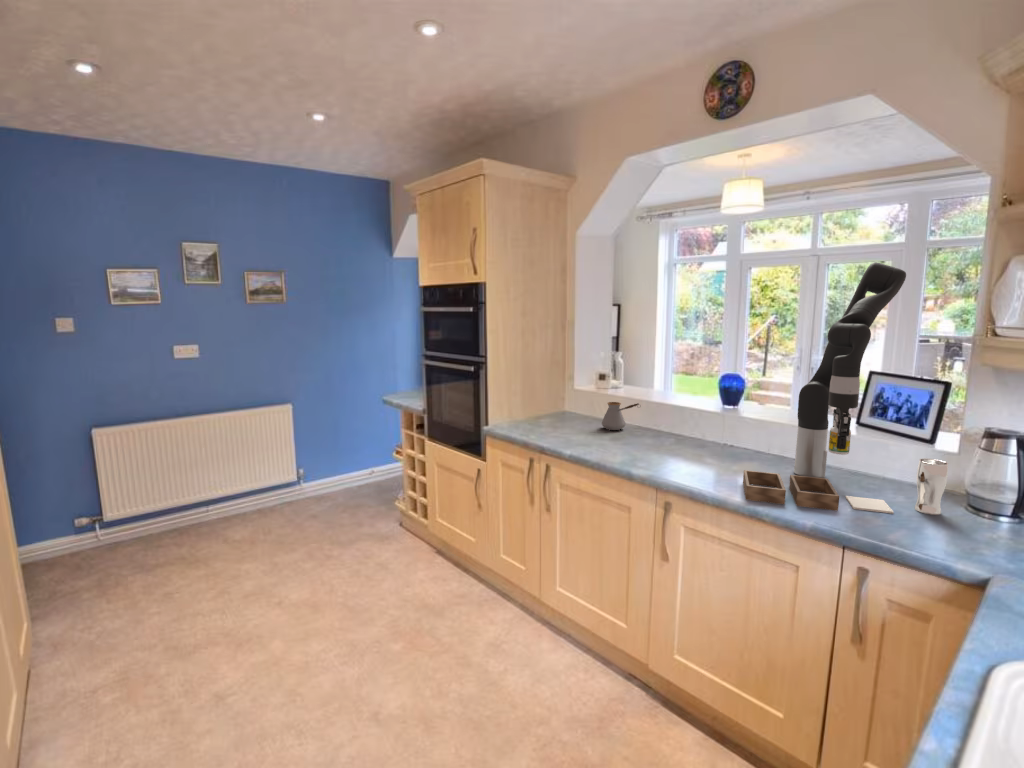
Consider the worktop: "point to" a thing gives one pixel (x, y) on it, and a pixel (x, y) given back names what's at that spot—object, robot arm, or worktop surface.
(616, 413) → the coffee pot
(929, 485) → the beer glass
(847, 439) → the supplement bottle
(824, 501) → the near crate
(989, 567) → the worktop surface
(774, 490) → the far crate
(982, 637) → the worktop surface
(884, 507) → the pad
